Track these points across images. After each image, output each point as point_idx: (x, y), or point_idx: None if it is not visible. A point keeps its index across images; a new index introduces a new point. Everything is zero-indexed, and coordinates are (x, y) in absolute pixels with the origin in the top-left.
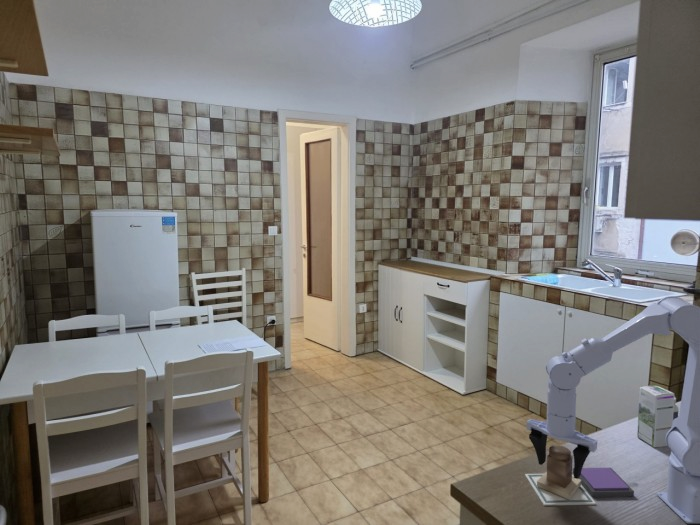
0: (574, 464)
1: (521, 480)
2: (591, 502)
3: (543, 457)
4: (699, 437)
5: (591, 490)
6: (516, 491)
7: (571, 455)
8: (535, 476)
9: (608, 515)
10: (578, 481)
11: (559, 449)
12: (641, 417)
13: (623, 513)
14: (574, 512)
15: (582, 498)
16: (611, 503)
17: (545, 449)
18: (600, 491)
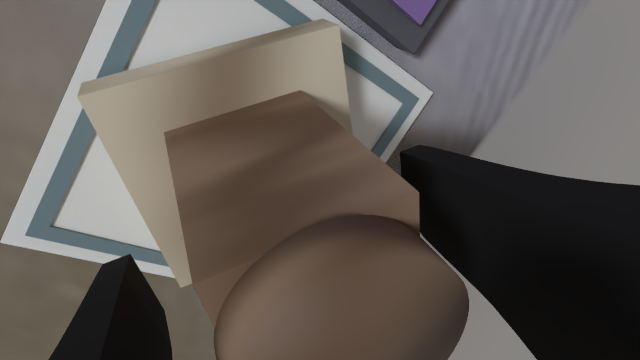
0: (494, 305)
1: (57, 284)
2: (417, 108)
3: (147, 329)
4: None
5: (406, 45)
6: None
7: (411, 204)
8: (66, 197)
9: (484, 110)
10: (335, 61)
11: (342, 357)
12: None
13: (527, 35)
14: None
15: (376, 119)
16: (476, 6)
17: (111, 349)
18: (444, 3)
